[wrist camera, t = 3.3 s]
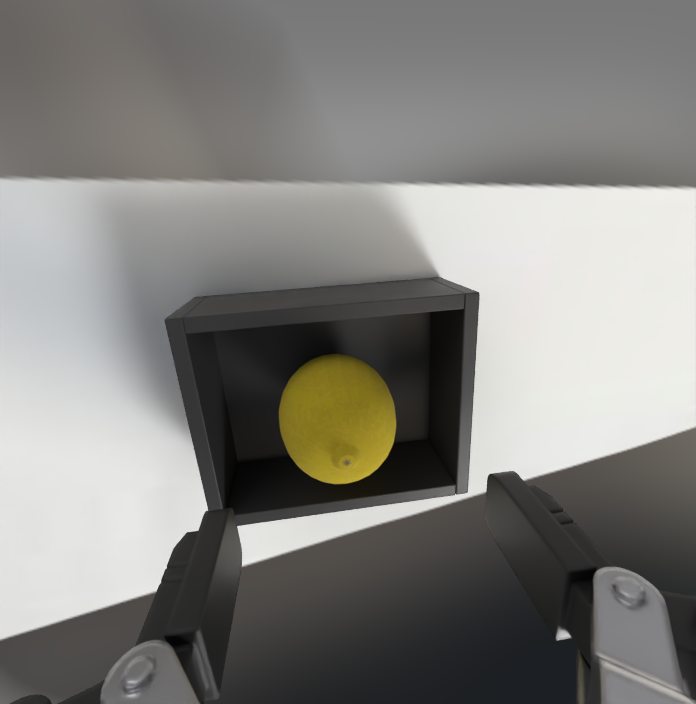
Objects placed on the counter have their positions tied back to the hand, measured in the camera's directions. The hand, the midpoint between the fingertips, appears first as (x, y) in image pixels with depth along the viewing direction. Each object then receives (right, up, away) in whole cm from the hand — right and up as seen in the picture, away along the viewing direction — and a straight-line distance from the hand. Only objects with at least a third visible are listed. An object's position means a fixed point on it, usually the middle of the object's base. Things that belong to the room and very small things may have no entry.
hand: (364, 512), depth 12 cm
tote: (-2, +3, +10) cm, 11 cm away
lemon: (-2, +3, +10) cm, 11 cm away
